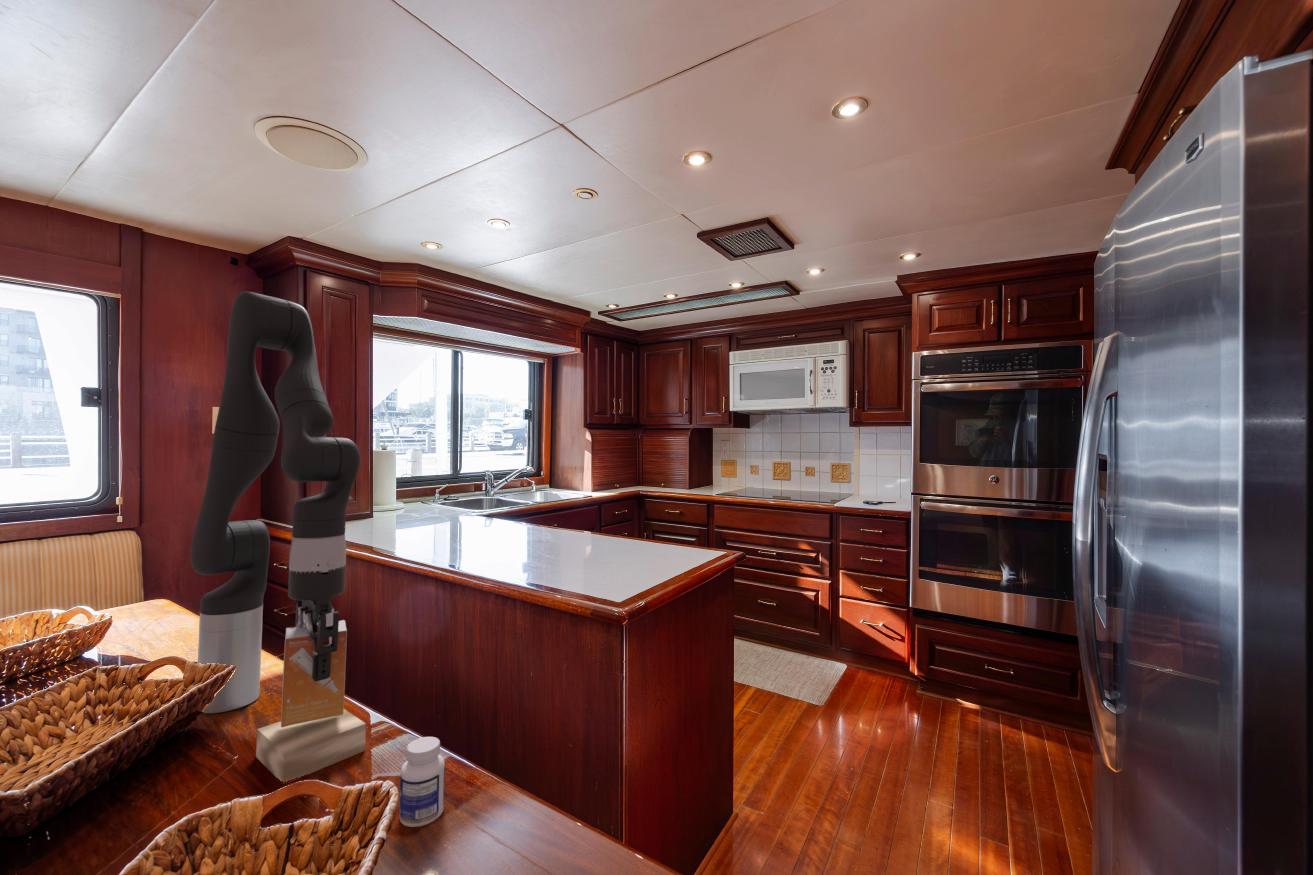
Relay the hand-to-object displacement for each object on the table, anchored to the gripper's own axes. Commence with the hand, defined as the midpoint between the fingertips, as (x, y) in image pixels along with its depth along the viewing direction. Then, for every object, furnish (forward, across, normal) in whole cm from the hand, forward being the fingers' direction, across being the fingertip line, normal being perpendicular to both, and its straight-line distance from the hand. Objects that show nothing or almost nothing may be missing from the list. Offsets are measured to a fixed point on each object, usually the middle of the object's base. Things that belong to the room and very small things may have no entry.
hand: (314, 671), depth 83 cm
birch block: (+13, 0, 0) cm, 13 cm away
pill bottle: (+13, +26, +6) cm, 30 cm away
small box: (+7, 0, 0) cm, 7 cm away
